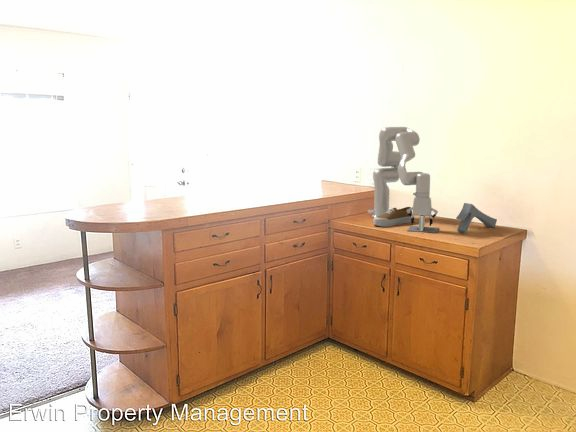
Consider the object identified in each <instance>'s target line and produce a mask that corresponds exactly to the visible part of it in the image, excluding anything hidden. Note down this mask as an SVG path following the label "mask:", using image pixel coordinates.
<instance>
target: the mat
mask: <svg viewBox="0 0 576 432" xmlns="http://www.w3.org/2000/svg"><path fill="white" fill-rule="evenodd" d="M438 231H439V227H437V226H424V229H423V231H419V225H417V226H416V225H410V226H409V228H408V229H407V232H413V233H414V232H415V233H429V234H430V233H433V234H437V233H438Z"/></svg>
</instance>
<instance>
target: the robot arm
mask: <svg viewBox="0 0 576 432" xmlns="http://www.w3.org/2000/svg"><path fill="white" fill-rule="evenodd" d="M420 140H421V139H420V136H419V133H418V132H417V131H415V130H413V129H411V128H410V127H407V126H386V127H383V128H381V129H380V131H379V134H378V141H379V147H378V148H379V149H378V152H377V153H378V154H377V165H378V166H379V167H380V168H379V167H378V168H376V169H375V170H374V171H373V174H372V178H373V183H374V184H373V185H374V188H373V189H374V197H373V199H374V200H373V201H374V202H373V203H374V205H373V207H374V208H373V209H367V213H369V214H371V217H372V218H374V217H376V216H380V215H382V214H384V213H385V212H387V211H388V210H389V209H390V187H389V186H388V184H387V183H389V184H390V183H396V182H398V181H400V183H401V184H403V186H415V192H413V194H412V195H413V196H414V198H413V204H412V207H411V208H410V209H407V213H408V215H409V216H410V217H411V222H410V223H411V226H415V216H419V217H420V216H425V217H429V227H432V225H433V222H434V221H433V219H434V218H436V216H437V214H438V212H439V211H438V210H436V209H435V208H433V207H432V198H431V196H430V194H431V193H430V192H431V191H430V190H431V175H430V174H429V173H427V172H422V171H407V168H406V163H407V162H409V161H411V160H413V159H414V158H415V157H416V152H415V149H414V147H416V146H418V145H419V144H420ZM393 142H395V143H396V147H397V150H398V151H397V150H395V151H394V144H393ZM411 210H412V214H411V213H410V211H411ZM432 212H434V213H433V214H432Z"/></svg>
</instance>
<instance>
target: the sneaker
mask: <svg viewBox="0 0 576 432" xmlns="http://www.w3.org/2000/svg"><path fill="white" fill-rule="evenodd" d="M410 208H412V207H411V206H405V207H402V208H399V209H398V208H397V207H393V208H389V210H388V211H387V212H385V213H384V214H382V215H380V216H376V217H373V220H372V221H373V225H374V226H378V227H382V228H383V227H385V228H387V227H388V228H389V227H393V226H398V225H402V224H409V222H410V223H411V217H410V216H409V215H408V213H407V209H410ZM410 213H411V214H413V210H411V211H410Z"/></svg>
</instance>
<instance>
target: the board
mask: <svg viewBox="0 0 576 432" xmlns="http://www.w3.org/2000/svg"><path fill="white" fill-rule="evenodd" d="M425 219H426V216H420V215H419V219H418V226H419V231H423V229H424V227H425V221H426V220H425Z"/></svg>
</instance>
